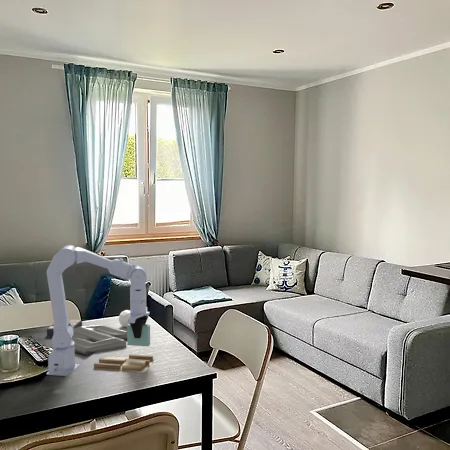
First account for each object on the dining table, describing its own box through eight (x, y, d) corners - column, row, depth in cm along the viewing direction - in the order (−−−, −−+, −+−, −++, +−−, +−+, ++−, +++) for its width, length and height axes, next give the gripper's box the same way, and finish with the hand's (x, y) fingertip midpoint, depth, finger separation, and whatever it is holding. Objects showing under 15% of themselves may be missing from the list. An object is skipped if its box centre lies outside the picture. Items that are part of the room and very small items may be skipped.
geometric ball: (130, 333, 214) (132, 322, 209) (114, 326, 215) (116, 315, 210) (137, 321, 220) (139, 310, 215) (122, 314, 221) (123, 304, 216)
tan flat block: (140, 371, 162) (140, 368, 162) (121, 369, 164) (121, 367, 164) (145, 365, 167) (145, 363, 167) (126, 364, 168) (126, 362, 168)
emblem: (48, 342, 180) (77, 320, 207) (48, 355, 180) (78, 332, 208) (118, 345, 177) (139, 323, 205) (119, 358, 177) (139, 334, 205)
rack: (144, 375, 161) (144, 368, 161) (92, 371, 164) (92, 364, 164) (154, 362, 173) (154, 355, 173) (106, 358, 176) (106, 352, 176)
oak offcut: (140, 368, 162) (140, 366, 162) (121, 367, 164) (121, 365, 163) (145, 363, 167) (145, 361, 167) (126, 362, 168) (126, 359, 168)
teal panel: (148, 346, 169) (148, 326, 168) (127, 345, 170) (127, 325, 169) (150, 344, 171) (150, 324, 170) (129, 343, 172) (129, 323, 171)
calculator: (82, 319, 216) (72, 327, 201) (82, 328, 216) (72, 337, 201) (58, 319, 216) (46, 327, 201) (58, 328, 216) (46, 337, 201)
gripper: (142, 305, 161) (142, 344, 162) (155, 295, 175) (155, 331, 177) (122, 304, 162) (123, 343, 163) (137, 295, 176) (137, 330, 178)
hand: (138, 336), depth 170 cm, fingers closed on teal panel, 2 cm apart
